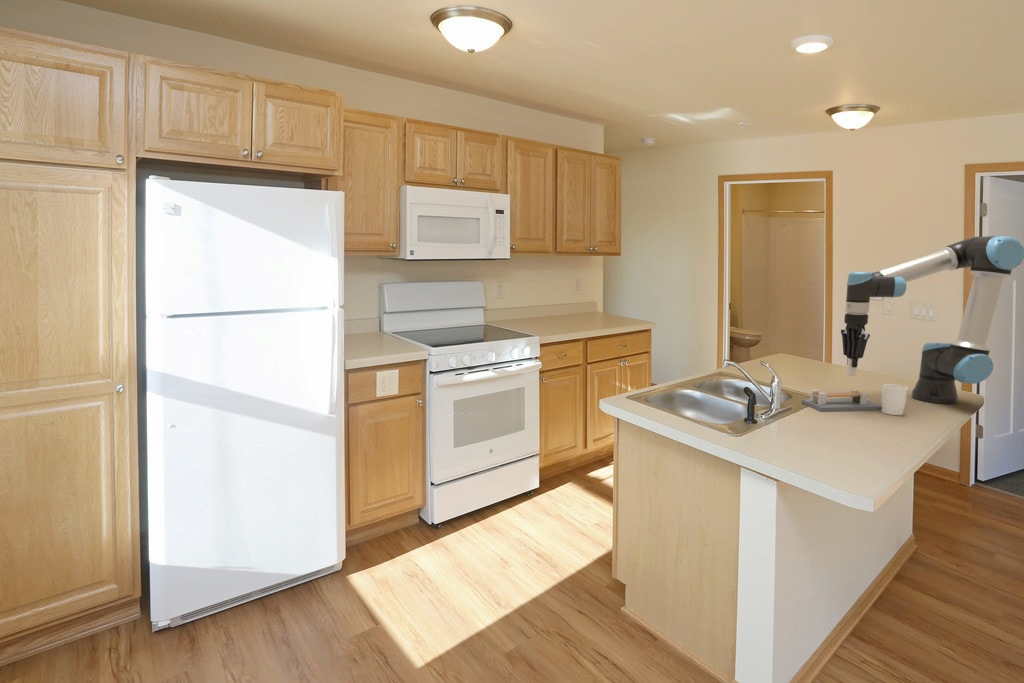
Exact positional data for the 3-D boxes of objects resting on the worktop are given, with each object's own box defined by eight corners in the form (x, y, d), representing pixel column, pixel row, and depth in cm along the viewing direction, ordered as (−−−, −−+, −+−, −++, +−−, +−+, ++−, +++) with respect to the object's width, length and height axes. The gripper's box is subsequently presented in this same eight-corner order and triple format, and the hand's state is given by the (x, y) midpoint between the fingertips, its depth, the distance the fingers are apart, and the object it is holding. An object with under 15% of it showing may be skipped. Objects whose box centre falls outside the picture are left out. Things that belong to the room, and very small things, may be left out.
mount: (861, 401, 228) (863, 386, 227) (883, 410, 216) (885, 394, 215) (801, 402, 225) (803, 387, 224) (821, 411, 214) (822, 395, 213)
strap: (859, 394, 223) (860, 391, 222) (865, 396, 219) (865, 393, 219) (813, 396, 221) (813, 393, 220) (818, 398, 218) (818, 395, 217)
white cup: (908, 416, 208) (912, 389, 207) (884, 415, 210) (887, 388, 208) (899, 410, 216) (902, 384, 214) (875, 409, 217) (878, 383, 216)
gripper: (835, 311, 221) (830, 371, 225) (859, 315, 208) (853, 379, 212) (854, 311, 222) (848, 371, 226) (878, 315, 209) (872, 378, 213)
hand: (851, 375), depth 219 cm, fingers closed
